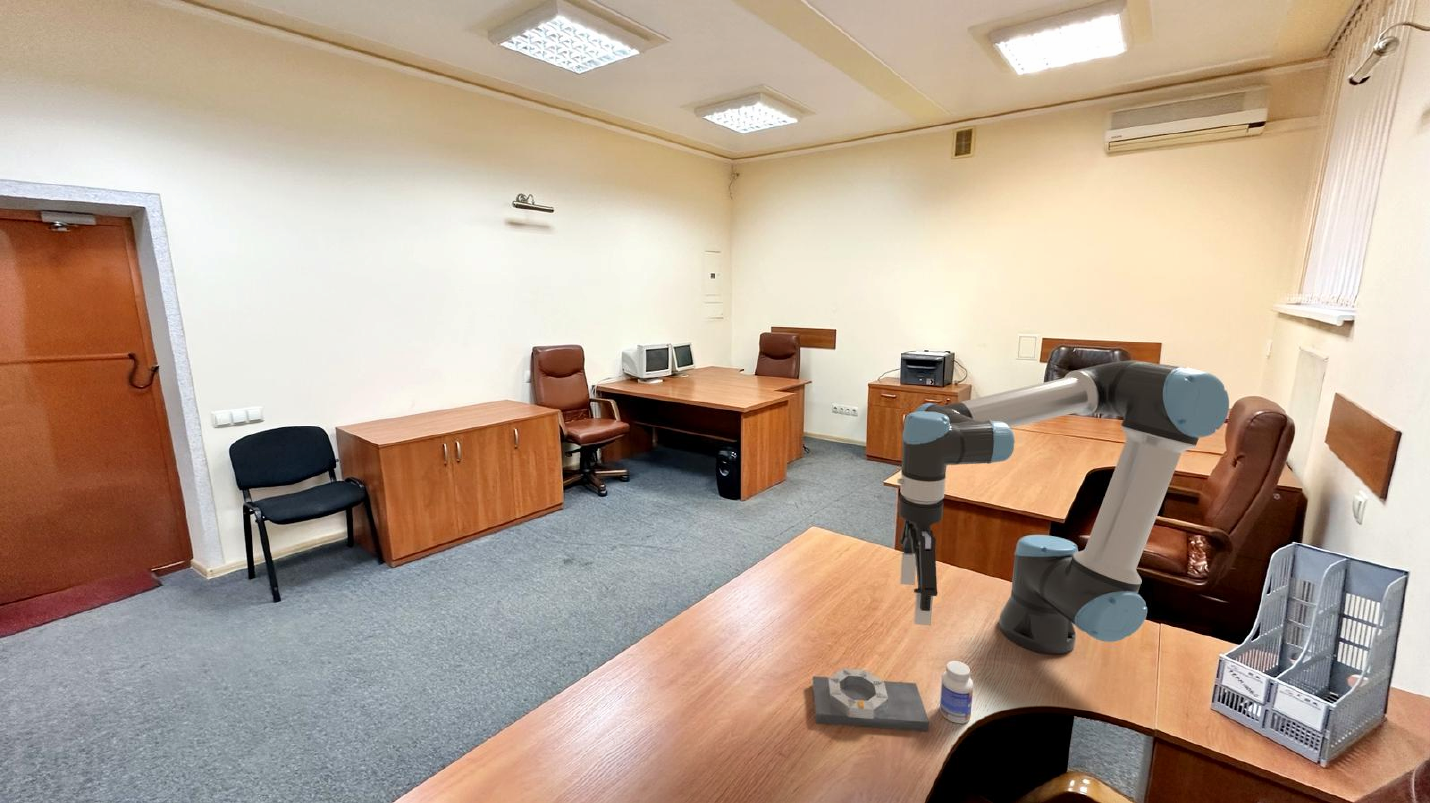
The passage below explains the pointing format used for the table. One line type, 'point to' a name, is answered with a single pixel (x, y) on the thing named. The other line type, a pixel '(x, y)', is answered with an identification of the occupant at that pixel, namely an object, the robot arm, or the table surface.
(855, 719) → the hub plate
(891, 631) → the table surface
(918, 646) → the table surface
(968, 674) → the pill bottle
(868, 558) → the table surface
